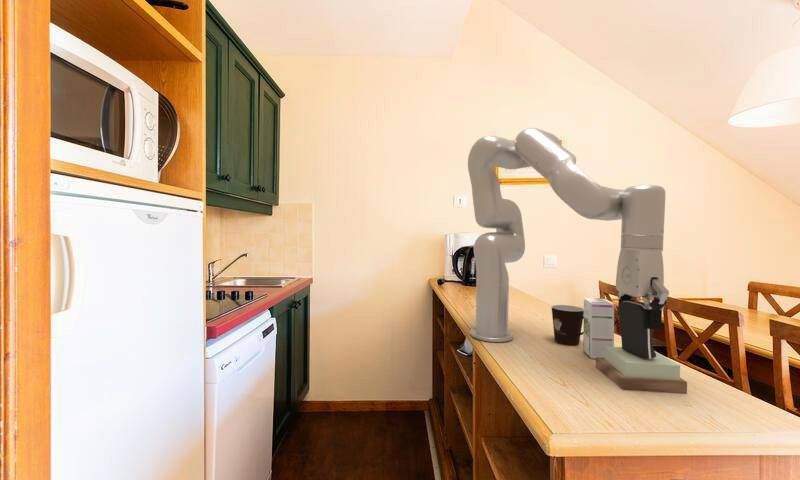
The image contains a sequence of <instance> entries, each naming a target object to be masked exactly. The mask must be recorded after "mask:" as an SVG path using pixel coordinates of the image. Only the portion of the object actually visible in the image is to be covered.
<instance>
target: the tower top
mask: <svg viewBox="0 0 800 480" xmlns="http://www.w3.org/2000/svg"><path fill="white" fill-rule="evenodd" d="M654 351H655V353H656V357H654V358H651V359H645V358H642V357H639V356H636V355H634V354H631V353H629V352H627V351H625V350H623V349H622V346H621V347H620V346H614V347H606V346H604V360H606V361H607V362H608V363H609V364H611V365H612V366H613V367H614V368H615V369H617V370H618V371H619V372H620V373H622V374H623V375H624V376H625V377H632V378H648V379H665V380H680V378H681V365H680V364H678V363H677V362H674V361H673V360H671V359H669V358H668V357H665V356H664V355H663V354H661V353H659V352H657V351H656V350H654Z"/></svg>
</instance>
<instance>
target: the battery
mask: <svg viewBox="0 0 800 480" xmlns="http://www.w3.org/2000/svg"><path fill="white" fill-rule="evenodd" d="M644 309H646V306H645V304H644V301H639V300H635V301H623V302H621V303H620V304H619V316H618V318H619V328H620V329H619V330H620V336H621V337H620V338H621V339H620V340H621V347H622V349H623V350H625V351H627V352H629V353H631V354H634V355H636V356H639V357H642V358H645V359H651V358H654V357H656V353H655V351H656V350H654V346H653V333H654V329H645V328H643V310H644Z"/></svg>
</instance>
